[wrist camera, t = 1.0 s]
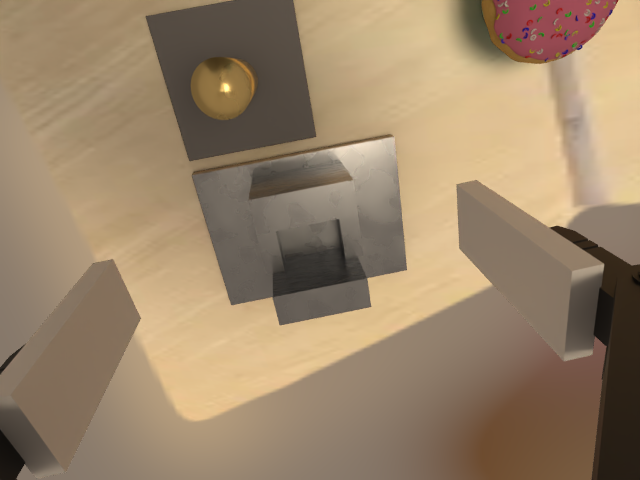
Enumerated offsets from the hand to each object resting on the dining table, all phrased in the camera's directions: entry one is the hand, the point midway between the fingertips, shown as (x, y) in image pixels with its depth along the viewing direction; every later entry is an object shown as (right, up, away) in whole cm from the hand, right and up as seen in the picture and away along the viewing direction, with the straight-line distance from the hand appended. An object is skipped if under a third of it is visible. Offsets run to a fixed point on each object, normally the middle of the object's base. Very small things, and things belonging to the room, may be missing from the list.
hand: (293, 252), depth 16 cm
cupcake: (+15, +18, +15) cm, 28 cm away
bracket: (0, +2, +20) cm, 20 cm away
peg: (-5, +12, +14) cm, 19 cm away
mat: (-5, +12, +15) cm, 20 cm away
